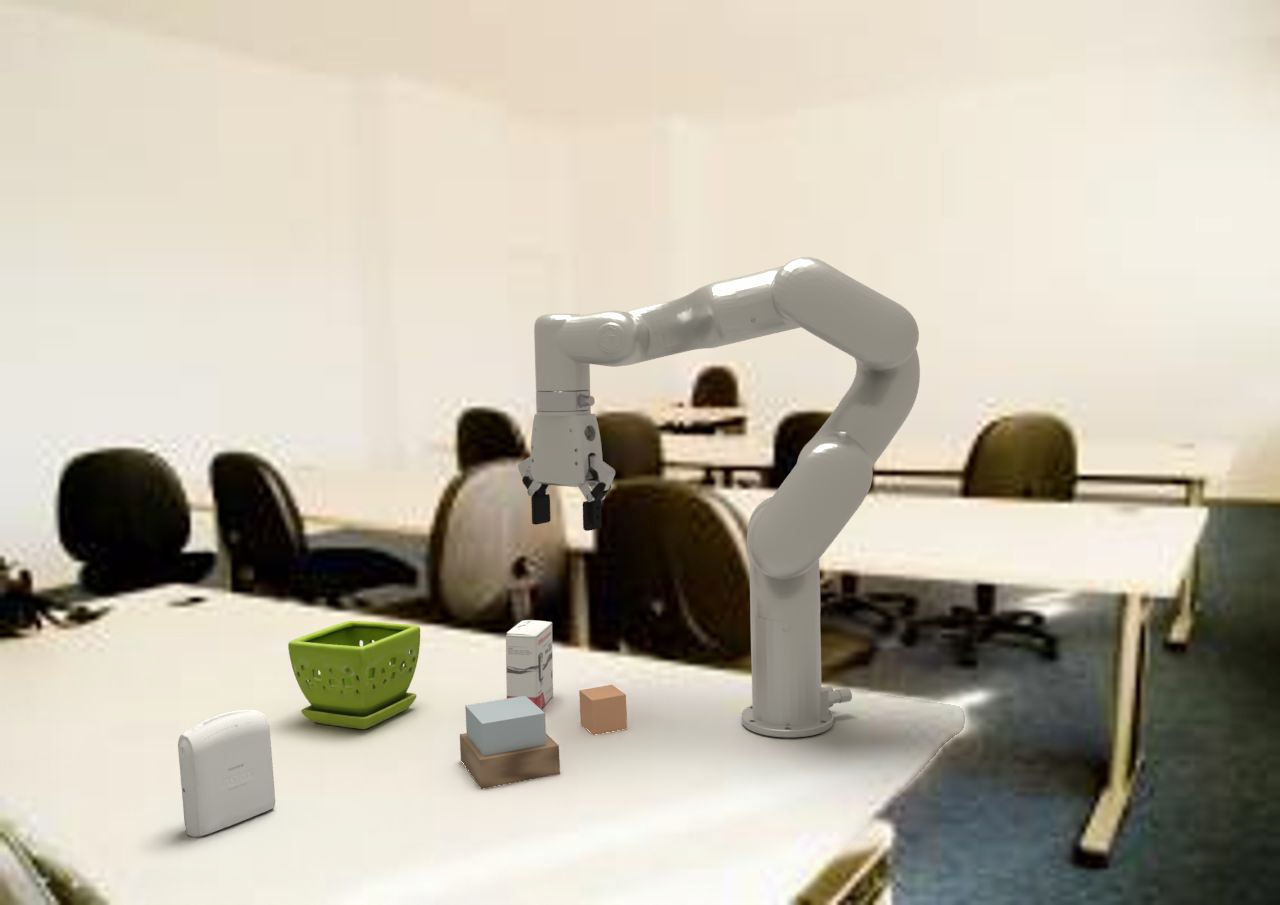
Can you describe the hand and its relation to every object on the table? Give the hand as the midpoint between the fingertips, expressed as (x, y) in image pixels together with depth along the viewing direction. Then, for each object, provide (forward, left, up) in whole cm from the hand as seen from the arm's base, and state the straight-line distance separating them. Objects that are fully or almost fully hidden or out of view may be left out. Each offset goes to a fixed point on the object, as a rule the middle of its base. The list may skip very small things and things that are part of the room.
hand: (566, 526), depth 149 cm
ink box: (+3, -9, -28) cm, 30 cm away
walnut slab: (+13, +13, -28) cm, 34 cm away
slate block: (+14, +13, -24) cm, 31 cm away
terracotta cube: (-3, +5, -28) cm, 28 cm away
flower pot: (+27, -16, -28) cm, 43 cm away
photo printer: (+46, +13, -28) cm, 56 cm away
